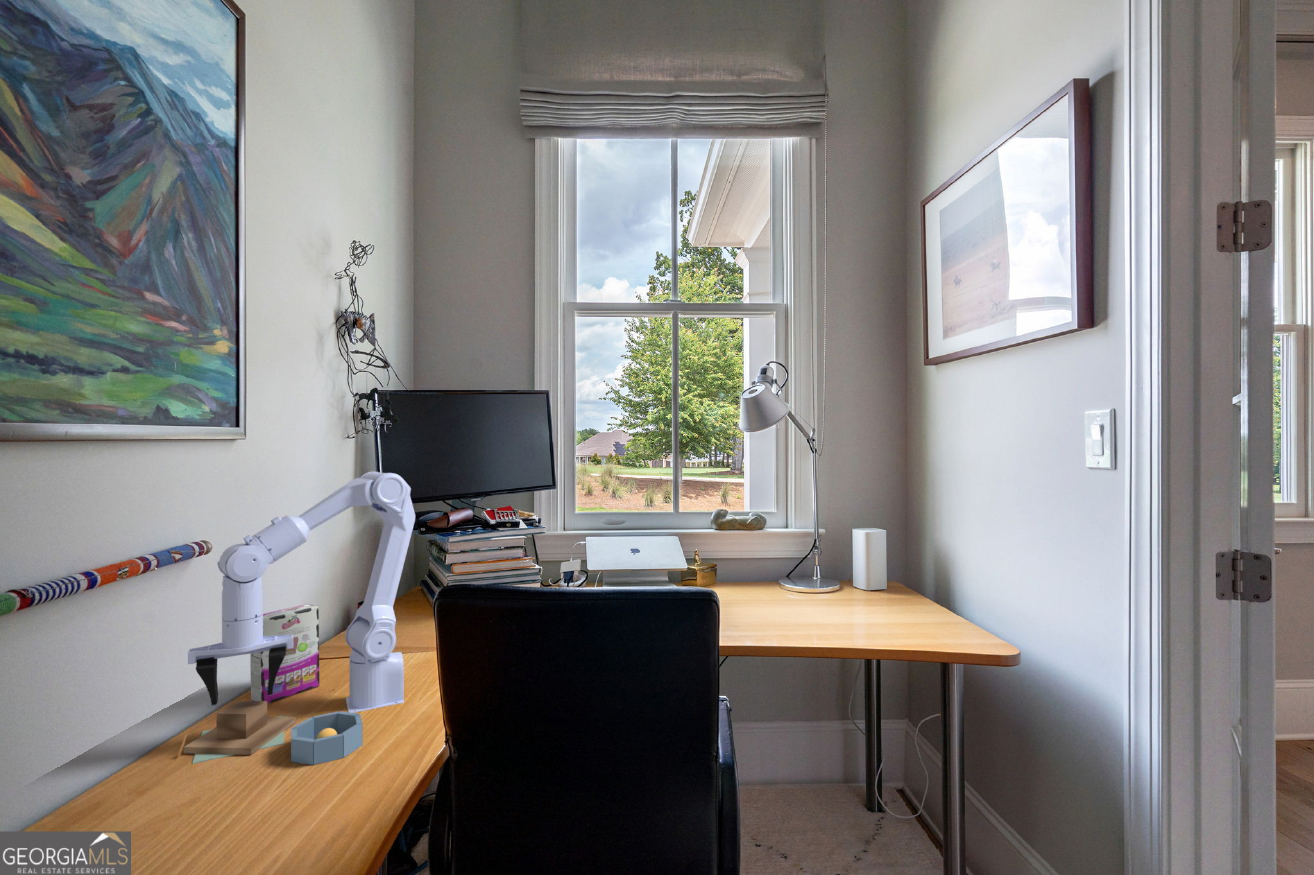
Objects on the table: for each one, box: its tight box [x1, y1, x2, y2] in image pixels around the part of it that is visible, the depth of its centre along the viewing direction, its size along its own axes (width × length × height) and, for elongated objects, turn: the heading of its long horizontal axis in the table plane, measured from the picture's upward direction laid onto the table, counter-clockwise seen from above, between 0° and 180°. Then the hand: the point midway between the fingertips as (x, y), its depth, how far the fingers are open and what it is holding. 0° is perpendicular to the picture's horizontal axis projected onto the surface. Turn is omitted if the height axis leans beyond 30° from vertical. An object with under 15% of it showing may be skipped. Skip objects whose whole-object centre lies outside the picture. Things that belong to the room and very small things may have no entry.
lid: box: [183, 700, 296, 756], centre depth 102 cm, size 11×11×5 cm
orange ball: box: [317, 728, 337, 739], centre depth 99 cm, size 3×3×3 cm
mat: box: [192, 714, 286, 765], centre depth 102 cm, size 12×12×1 cm
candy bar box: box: [249, 603, 321, 705], centre depth 122 cm, size 11×5×16 cm, turn 148°
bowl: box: [290, 710, 363, 766], centre depth 99 cm, size 10×10×4 cm
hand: (243, 698), depth 102 cm, fingers open, 7 cm apart
